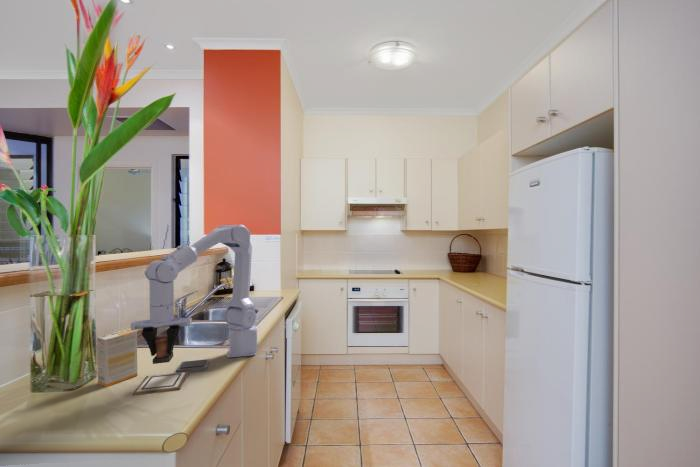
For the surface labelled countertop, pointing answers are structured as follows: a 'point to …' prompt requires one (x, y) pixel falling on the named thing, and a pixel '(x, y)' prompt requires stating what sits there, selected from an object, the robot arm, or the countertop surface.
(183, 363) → the ink pad
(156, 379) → the board
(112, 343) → the supplement box
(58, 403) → the countertop surface
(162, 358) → the stamp
